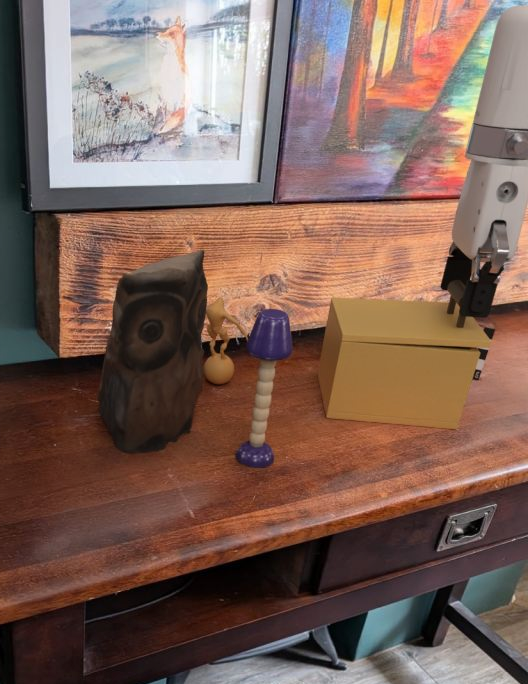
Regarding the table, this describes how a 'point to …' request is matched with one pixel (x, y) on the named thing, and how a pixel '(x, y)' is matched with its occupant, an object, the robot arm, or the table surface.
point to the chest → (394, 380)
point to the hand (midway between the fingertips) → (462, 302)
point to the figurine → (221, 365)
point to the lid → (409, 321)
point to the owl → (155, 354)
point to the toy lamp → (265, 381)
